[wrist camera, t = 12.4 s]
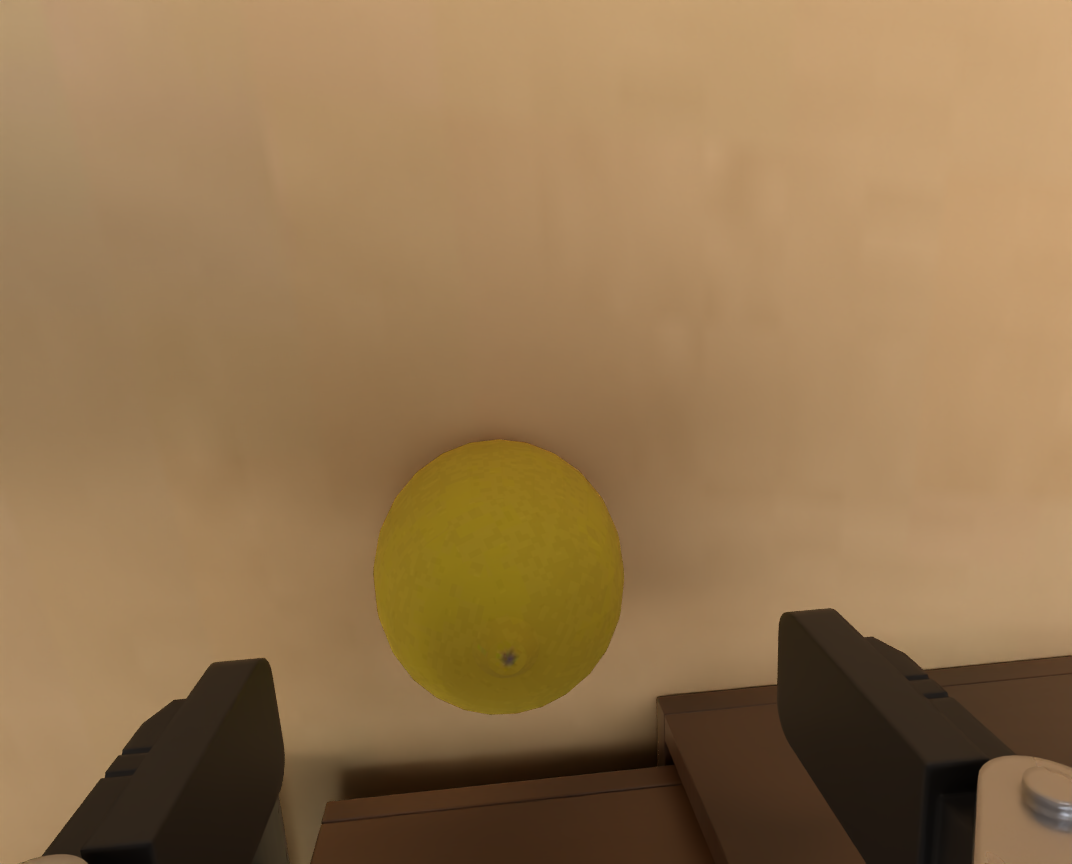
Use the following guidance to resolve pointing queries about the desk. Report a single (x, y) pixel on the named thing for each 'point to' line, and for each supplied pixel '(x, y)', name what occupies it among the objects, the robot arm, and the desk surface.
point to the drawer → (511, 824)
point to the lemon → (498, 577)
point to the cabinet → (782, 781)
